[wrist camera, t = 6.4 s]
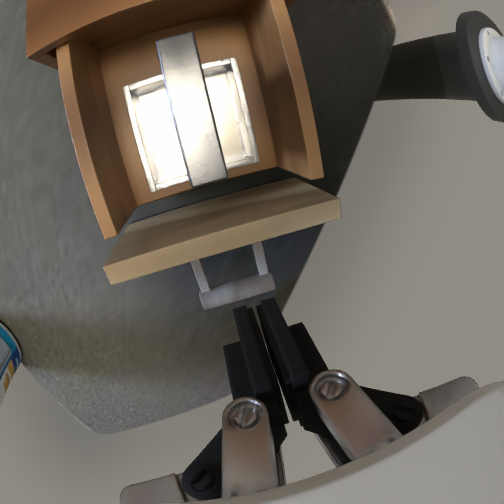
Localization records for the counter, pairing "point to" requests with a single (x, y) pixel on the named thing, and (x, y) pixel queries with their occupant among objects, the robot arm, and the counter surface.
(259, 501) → the robot arm
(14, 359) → the beverage bottle
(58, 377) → the counter surface
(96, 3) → the cabinet
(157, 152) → the silver open box
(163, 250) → the drawer
